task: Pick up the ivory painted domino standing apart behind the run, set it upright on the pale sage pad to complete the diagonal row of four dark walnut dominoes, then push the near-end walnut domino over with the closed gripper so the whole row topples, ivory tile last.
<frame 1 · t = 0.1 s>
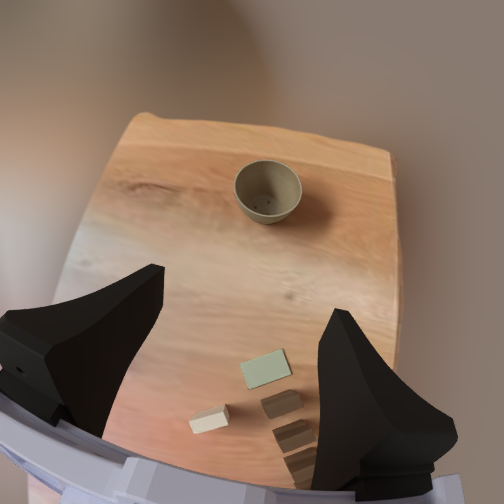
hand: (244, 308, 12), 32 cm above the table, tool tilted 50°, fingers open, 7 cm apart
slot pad: (265, 369, 41), on the table
domino 4: (277, 400, 39), on the table
domino 3: (288, 429, 38), on the table
flower pot: (264, 210, 50), on the table
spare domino: (212, 414, 38), on the table
domino 1: (309, 482, 35), on the table
domino 2: (299, 457, 36), on the table
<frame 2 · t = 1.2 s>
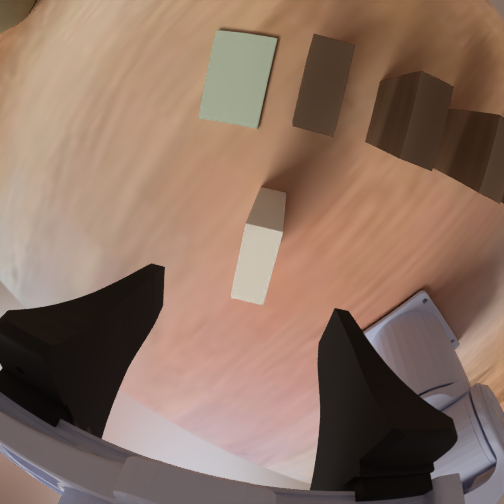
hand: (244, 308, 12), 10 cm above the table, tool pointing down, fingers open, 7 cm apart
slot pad: (237, 77, 17), on the table
domino 4: (313, 93, 17), on the table
domino 3: (385, 115, 17), on the table
flower pot: (23, 2, 14), on the table
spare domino: (266, 218, 22), on the table
domino 2: (445, 141, 17), on the table
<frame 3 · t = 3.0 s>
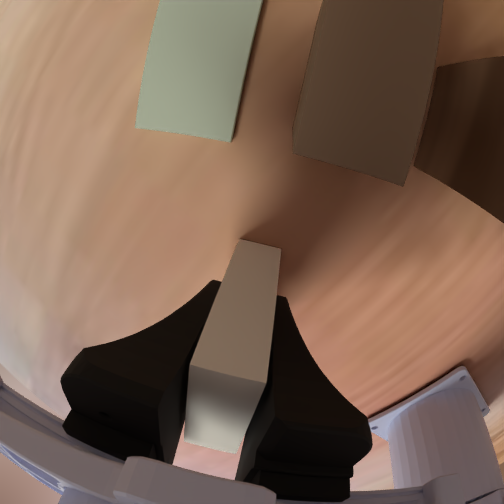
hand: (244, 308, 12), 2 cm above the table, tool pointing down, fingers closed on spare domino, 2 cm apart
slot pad: (197, 55, 9), on the table
domino 4: (329, 79, 9), on the table
domino 3: (445, 123, 9), on the table
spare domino: (249, 286, 14), on the table, touching gripper
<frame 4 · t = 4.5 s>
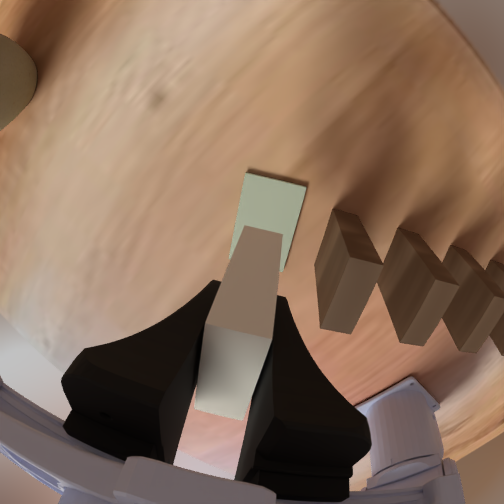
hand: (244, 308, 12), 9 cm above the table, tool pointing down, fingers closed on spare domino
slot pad: (265, 223, 21), on the table
domino 4: (335, 240, 21), on the table
domino 3: (397, 257, 21), on the table
flower pot: (22, 83, 17), on the table
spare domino: (254, 269, 15), point 6 cm above the table, touching gripper
domino 1: (485, 283, 20), on the table
domino 2: (447, 271, 20), on the table
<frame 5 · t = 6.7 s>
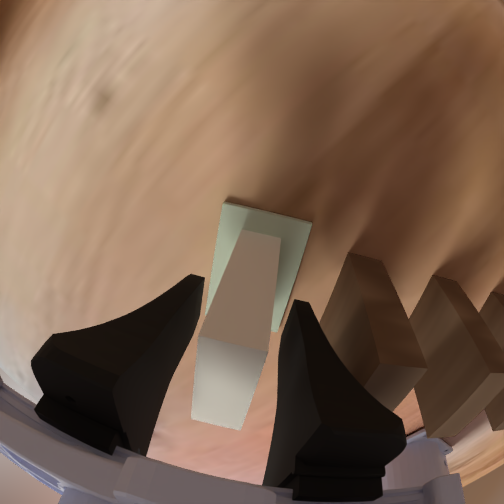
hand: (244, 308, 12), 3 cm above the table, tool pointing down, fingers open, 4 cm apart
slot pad: (253, 272, 15), on the table
domino 4: (349, 293, 15), on the table
domino 3: (427, 310, 15), on the table
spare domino: (252, 274, 15), resting on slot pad
domino 2: (482, 322, 15), on the table
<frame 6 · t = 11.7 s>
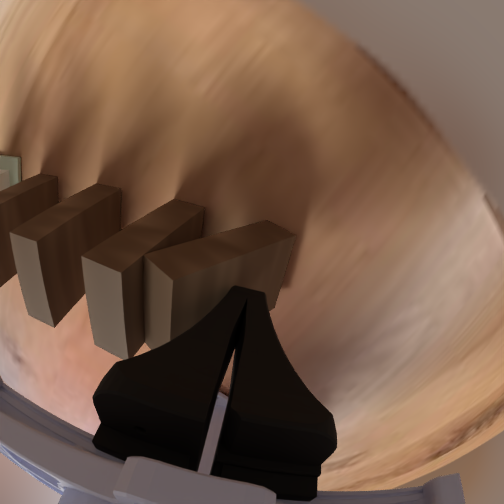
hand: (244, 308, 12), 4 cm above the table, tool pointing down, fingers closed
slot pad: (7, 196, 17), on the table
domino 4: (49, 207, 17), on the table
domino 3: (107, 221, 16), on the table
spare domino: (4, 197, 16), resting on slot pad
domino 1: (271, 265, 16), on the table, tilted 34°, touching domino 2
domino 2: (184, 241, 16), on the table, tilted 7°, touching domino 1
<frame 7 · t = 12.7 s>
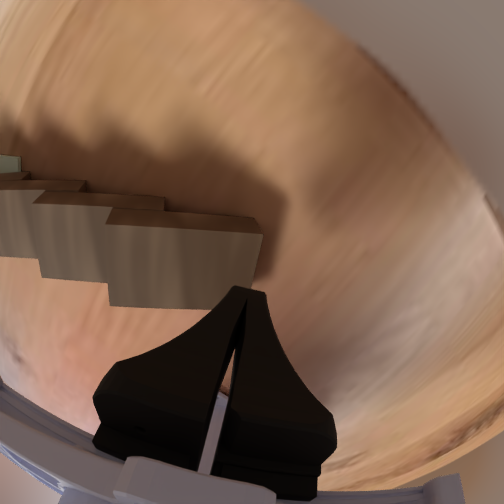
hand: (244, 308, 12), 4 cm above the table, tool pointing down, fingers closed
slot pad: (7, 196, 17), on the table
domino 4: (27, 206, 16), point 1 cm above the table, tilted 64°, touching domino 3, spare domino
domino 3: (83, 220, 16), point 1 cm above the table, tilted 68°, touching domino 2, domino 4
domino 1: (249, 265, 15), point 1 cm above the table, tilted 68°, touching domino 2
domino 2: (161, 242, 16), point 1 cm above the table, tilted 69°, touching domino 1, domino 3
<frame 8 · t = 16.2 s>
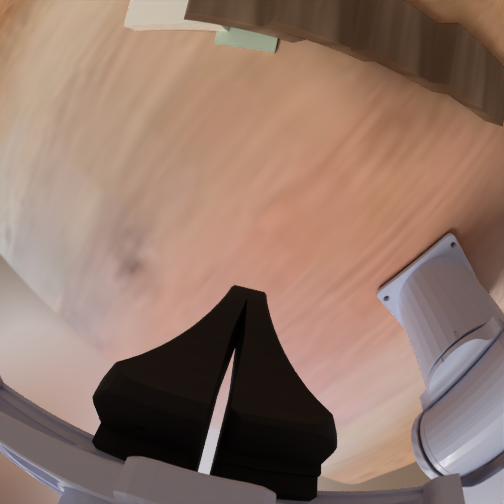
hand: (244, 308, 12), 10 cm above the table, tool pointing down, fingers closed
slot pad: (254, 7, 15), on the table
domino 4: (304, 12, 14), point 1 cm above the table, tilted 63°, touching domino 3, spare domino
domino 3: (377, 32, 14), point 1 cm above the table, tilted 66°, touching domino 2, domino 4
domino 1: (498, 97, 14), point 1 cm above the table, tilted 69°, touching domino 2
domino 2: (445, 65, 14), point 1 cm above the table, tilted 68°, touching domino 1, domino 3
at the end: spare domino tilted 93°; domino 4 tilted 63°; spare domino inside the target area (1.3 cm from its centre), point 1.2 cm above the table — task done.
